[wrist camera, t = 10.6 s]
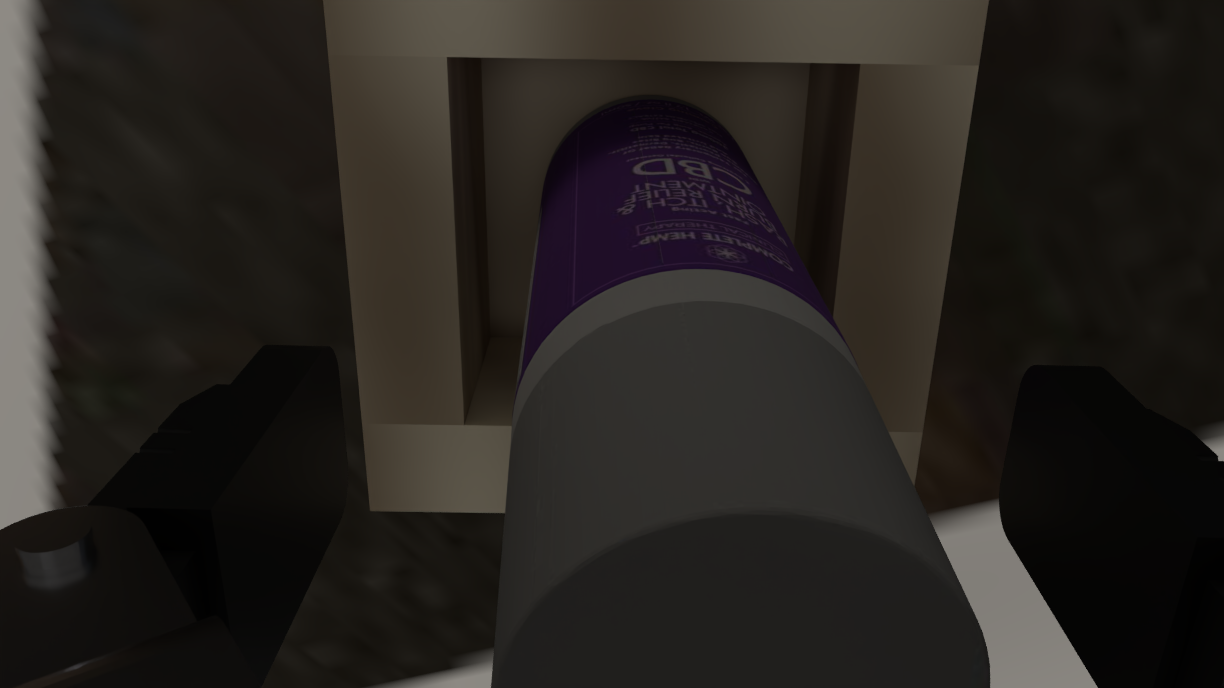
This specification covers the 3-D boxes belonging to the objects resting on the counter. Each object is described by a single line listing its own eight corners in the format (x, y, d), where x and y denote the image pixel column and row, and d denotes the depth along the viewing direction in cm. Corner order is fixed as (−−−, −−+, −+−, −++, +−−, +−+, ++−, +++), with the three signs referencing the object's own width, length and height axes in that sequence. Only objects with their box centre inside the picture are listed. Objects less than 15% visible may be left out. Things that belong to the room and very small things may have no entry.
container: (725, 66, 21) (974, 431, 8) (771, 266, 23) (1031, 835, 10) (514, 128, 22) (394, 575, 8) (576, 318, 24) (565, 933, 10)
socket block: (913, -66, 21) (998, -62, 16) (855, 408, 25) (909, 519, 20) (382, -75, 21) (316, -73, 16) (415, 402, 25) (370, 511, 20)
